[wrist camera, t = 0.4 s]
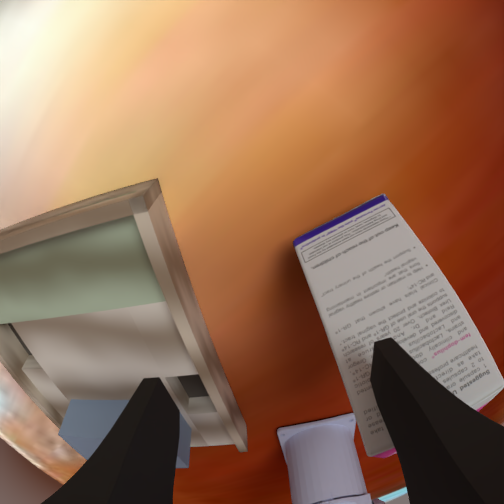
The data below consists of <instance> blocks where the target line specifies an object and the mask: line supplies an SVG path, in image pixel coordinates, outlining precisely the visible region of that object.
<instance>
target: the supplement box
mask: <svg viewBox="0 0 504 504" xmlns="http://www.w3.org/2000/svg"><path fill="white" fill-rule="evenodd" d="M293 245H294V248H295V250H296V253H297V256H298V259H299V261H300V264H301V266H302V269H303V272H304V275H305V277H306V280H307V283H308V285H309V288H310V290H311V293H312V296H313V298H314V301H315V304H316V306H317V309H318V312H319V315H320V317H321V320H322V323H323V326H324V328H325V331H326V334H327V337H328V340H329V343H330V346H331V349H332V351H333V354H334V357H335V360H336V362H337V365H338V368H339V371H340V374H341V377H342V379H343V382H344V385H345V388H346V391H347V394H348V397H349V400H350V403H351V406H352V409H353V412H354V415H355V418H356V421H357V424H358V427H359V430H360V433H361V437H362V440H363V443H364V446H365V450H366V453H367V455H368V456H372V457H381V458H385V457H388V456H391V455H393V454H396V453H397V452H396V449H395V447H394V444H393V442H392V440H391V437H390V435H389V432H388V430H387V428H386V425H385V423H384V420H383V418H382V415H381V413H380V411H379V408H378V406H377V403H376V399H375V396H374V393H373V389H372V385H371V382H370V375H371V367H372V358H373V348H374V342H375V341H379V340H383V339H386V338H390V337H391V338H393V339H394V340H395V341H396V342H397V343H398V344H399V345H400V346H401V347H402V348H403V349H404V350H405V351H406V352H407V353H408V354H409V355H410V356H411V357H412V358H413V359H414V360H415V361H416V362H417V363H418V364H419V365H420V366H422V367H423V368H424V369H425V370H426V371H427V372H428V373H429V374H430V375H431V376H433V377H434V378H435V379H436V380H437V381H438V382H439V383H441V384H442V385H443V386H444V387H445V388H446V389H448V390H449V391H450V392H451V393H453V394H454V395H455V396H456V397H458V398H459V399H460V400H462V401H463V402H464V403H466V404H467V405H469V406H470V407H472V408H473V409H475V410H476V411H479V410H480V409H482V408H483V407H484V406H485V405H486V404H487V403H488V402H490V401H491V400H492V399H493V398H494V397H495V396H496V395H497V394H498V393H499V392H500V391H501V390H502V389H503V388H504V379H503V378H502V376H501V374H500V372H499V370H498V368H497V365H496V363H495V361H494V359H493V357H492V356H491V354H490V352H489V350H488V348H487V346H486V344H485V342H484V340H483V339H482V337H481V335H480V333H479V332H478V330H477V328H476V326H475V325H474V323H473V321H472V319H471V318H470V316H469V314H468V312H467V311H466V309H465V307H464V306H463V304H462V302H461V301H460V299H459V298H458V296H457V294H456V293H455V291H454V290H453V288H452V287H451V285H450V284H449V282H448V281H447V279H446V278H445V276H444V275H443V273H442V272H441V270H440V269H439V267H438V266H437V264H436V263H435V261H434V260H433V258H432V257H431V256H430V254H429V253H428V251H427V250H426V249H425V247H424V246H423V245H422V243H421V242H420V241H419V239H418V238H417V236H416V235H415V234H414V232H413V231H412V230H411V228H410V227H409V226H408V224H407V223H406V222H405V220H404V219H403V218H402V216H401V215H400V214H399V212H398V211H397V210H396V208H395V207H394V206H393V205H392V203H391V202H390V201H389V200H388V198H387V197H386V195H385V194H381V195H379V196H377V197H374V198H372V199H371V200H369V201H367V202H365V203H363V204H361V205H359V206H357V207H356V208H354V209H352V210H350V211H348V212H346V213H344V214H342V215H340V216H338V217H336V218H334V219H333V220H331V221H329V222H326V223H325V224H322V225H320V226H318V227H316V228H315V229H313V230H311V231H309V232H307V233H305V234H303V235H301V236H299V237H297V238H296V239H295V240H294V241H293Z"/></svg>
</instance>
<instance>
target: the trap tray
mask: <svg viewBox="0 0 504 504" xmlns="http://www.w3.org/2000/svg"><path fill="white" fill-rule="evenodd" d="M0 361H1V363H2V364H3V365H4V367H5V368H6V369H7V371H8V372H9V373H10V374H11V376H12V377H13V378H14V379H15V381H16V382H17V383H18V384H19V385H20V387H21V388H22V389H23V390H24V391H25V393H26V394H27V395H28V396H29V397H30V398H31V399H32V401H33V402H34V403H35V404H36V405H37V406H38V407H39V408H40V409H41V410H42V411H43V413H44V414H45V415H46V416H47V417H48V418H49V419H50V420H51V421H52V422H53V423H54V424H55V425H56V426H57V427H58V428H59V429H60V428H61V425H62V422H63V419H64V417H65V414H66V411H67V409H68V406H69V403H70V401H71V399H78V400H130V399H131V397H132V395H133V394H134V392H135V391H136V389H137V388H138V386H139V384H140V383H141V381H142V380H143V378H154V377H160V379H161V381H162V382H163V384H164V386H165V387H166V389H167V391H168V392H169V394H170V396H171V397H172V399H173V401H174V402H175V404H176V405H177V407H178V409H179V410H180V413H181V414H182V416H183V417H184V419H185V420H186V422H187V423H188V425H189V426H190V428H191V429H192V430H191V443H190V447H199V446H215V445H228V444H235V445H236V447H237V448H238V450H239V452H246V451H248V448H247V426H246V423H245V421H244V419H243V417H242V414H241V412H240V410H239V407H238V405H237V402H236V400H235V398H234V395H233V393H232V390H231V388H230V386H229V383H228V381H227V378H226V376H225V373H224V371H223V368H222V366H221V363H220V361H219V358H218V356H217V353H216V350H215V348H214V345H213V343H212V340H211V337H210V335H209V332H208V329H207V327H206V324H205V321H204V319H203V316H202V313H201V310H200V308H199V305H198V302H197V299H196V296H195V294H194V291H193V288H192V285H191V282H190V279H189V276H188V273H187V270H186V267H185V265H184V262H183V259H182V256H181V252H180V249H179V246H178V243H177V240H176V237H175V234H174V231H173V228H172V224H171V221H170V218H169V215H168V212H167V208H166V205H165V202H164V198H163V195H162V191H161V188H160V185H159V181H158V178H157V179H153V180H149V181H146V182H142V183H138V184H135V185H131V186H128V187H124V188H121V189H117V190H114V191H111V192H107V193H104V194H101V195H97V196H94V197H91V198H88V199H85V200H82V201H79V202H76V203H73V204H70V205H67V206H64V207H61V208H58V209H55V210H52V211H49V212H46V213H44V214H41V215H38V216H35V217H33V218H30V219H27V220H25V221H22V222H19V223H17V224H14V225H12V226H9V227H7V228H4V229H2V230H0Z"/></svg>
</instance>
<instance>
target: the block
mask: <svg viewBox="0 0 504 504" xmlns="http://www.w3.org/2000/svg"><path fill="white" fill-rule="evenodd" d="M128 402H129V400H78V399H71V401H70V403H69V406H68V409H67V411H66V414H65V417H64V419H63V422H62V425H61V428H60V431H59V433H58V435H59V436H61V437H62V438H63V439H64V440H65V441H66V442H67V443H68V444H69V445H70V446H71V447H73V448H74V449H75V450H76V451H77V452H78V453H79V454H81V455H82V456H83V457H84V458H85V459H86V460H88V459H89V458H90V457H91V455H92V454H93V453H94V452H95V450H96V449H97V448H98V446H99V445H100V444H101V442H102V441H103V439H104V438H105V437H106V435H107V434H108V432H109V431H110V430H111V428H112V427H113V425H114V424H115V422H116V421H117V419H118V417H119V416H120V414H121V413H122V411H123V410H124V408H125V407H126V405H127V403H128ZM191 430H192V429H191V428H190V426H189V425H188V423H187V422H186V420H185V419H184V417H183V416H182V414H181V413H180V437H179V445H178V453H177V461H176V468H189V456H190V443H191Z"/></svg>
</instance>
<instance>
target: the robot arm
mask: <svg viewBox="0 0 504 504" xmlns="http://www.w3.org/2000/svg"><path fill="white" fill-rule="evenodd" d="M370 382H371V385H372V389H373V393H374V396H375V399H376V403H377V406H378V408H379V411H380V413H381V415H382V418H383V420H384V423H385V425H386V428H387V430H388V432H389V435H390V437H391V440H392V442H393V444H394V447H395V449H396V452H397V454H398V457H399V460H400V463H401V467H402V471H403V474H404V478H405V483H406V487H407V491H408V496H409V501H410V504H504V427H503V426H502V425H500V424H498V423H496V422H494V421H492V420H490V419H489V418H487V417H486V416H484V415H482V414H481V413H479V412H478V411H476V410H475V409H473V408H472V407H470V406H469V405H467V404H466V403H464V402H463V401H462V400H460V399H459V398H458V397H456V396H455V395H454V394H453V393H451V392H450V391H449V390H448V389H446V388H445V387H444V386H443V385H442V384H441V383H439V382H438V381H437V380H436V379H435V378H434V377H433V376H431V375H430V374H429V373H428V372H427V371H426V370H425V369H424V368H423V367H422V366H420V365H419V364H418V363H417V362H416V361H415V360H414V359H413V358H412V357H411V356H410V355H409V354H408V353H407V352H406V351H405V350H404V349H403V348H402V347H401V346H400V345H399V344H398V343H397V342H396V341H395V340H394V339H393V338H391V337H390V338H386V339H383V340H379V341H375V342H374V348H373V358H372V367H371V375H370ZM355 424H356V418H355V415H354V413H350V414H346V415H341V416H337V417H333V418H329V419H324V420H319V421H314V422H309V423H304V424H299V425H293V426H288V427H282V428H279V429H277V434H278V438H279V441H280V444H281V448H282V451H283V454H284V458H285V461H286V464H287V466H288V474H289V482H290V490H291V498H292V504H385V502H383V501H381V500H379V499H374V500H372V501H371V497H370V494H367V491H366V487H365V483H364V479H363V475H362V471H361V467H360V463H359V460H358V456H357V452H356V449H355V445H354V441H353V439H354V431H355ZM179 437H180V410H179V409H178V407H177V405H176V404H175V402H174V401H173V399H172V397H171V396H170V394H169V392H168V391H167V389H166V387H165V386H164V384H163V382H162V381H161V379H160V377H154V378H143V380H142V381H141V383H140V384H139V386H138V388H137V389H136V391H135V392H134V394H133V395H132V397H131V399H130V400H129V402H128V403H127V405H126V407H125V408H124V410H123V411H122V413H121V414H120V416H119V417H118V419H117V421H116V422H115V424H114V425H113V427H112V428H111V430H110V431H109V432H108V434H107V435H106V437H105V438H104V439H103V441H102V442H101V444H100V445H99V446H98V448H97V449H96V450H95V452H94V453H93V454H92V455H91V457H90V458H89V459H88V460H87V461H86V462H85V464H84V465H83V466H82V467H81V468H80V469H79V470H78V471H77V472H76V473H75V474H74V475H73V476H72V477H71V478H70V479H69V480H68V481H67V482H66V483H65V484H64V485H63V486H62V487H61V488H60V489H59V490H58V491H56V492H55V493H54V494H53V495H52V496H50V497H49V498H48V499H46V500H45V501H44V502H42V503H41V504H173V485H174V477H175V469H176V461H177V453H178V445H179Z"/></svg>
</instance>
